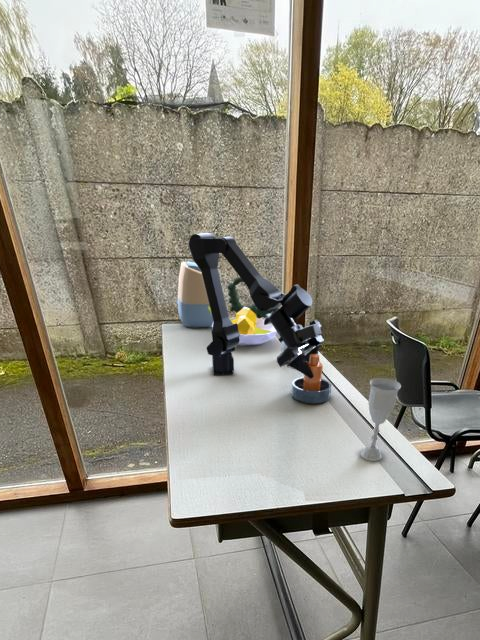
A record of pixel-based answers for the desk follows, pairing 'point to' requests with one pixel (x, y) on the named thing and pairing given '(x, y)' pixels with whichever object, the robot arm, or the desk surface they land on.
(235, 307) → the toy figurine
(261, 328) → the fruit bowl
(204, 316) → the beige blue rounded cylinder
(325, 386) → the bowl
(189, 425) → the desk surface
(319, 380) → the orange bottle
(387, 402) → the chalice
